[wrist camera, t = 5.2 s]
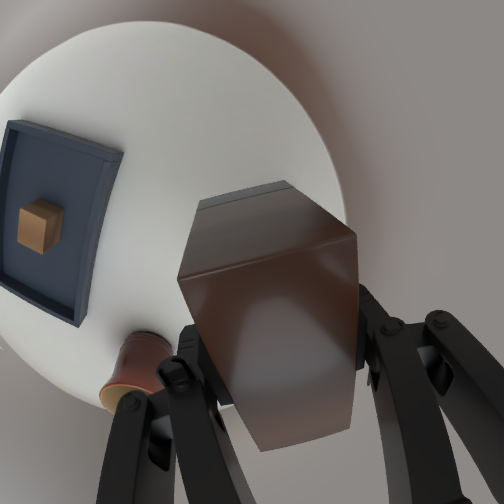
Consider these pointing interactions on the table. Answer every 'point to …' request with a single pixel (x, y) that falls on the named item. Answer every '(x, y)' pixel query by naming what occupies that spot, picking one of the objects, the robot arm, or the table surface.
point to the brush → (276, 309)
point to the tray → (64, 196)
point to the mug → (135, 368)
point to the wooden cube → (40, 225)
